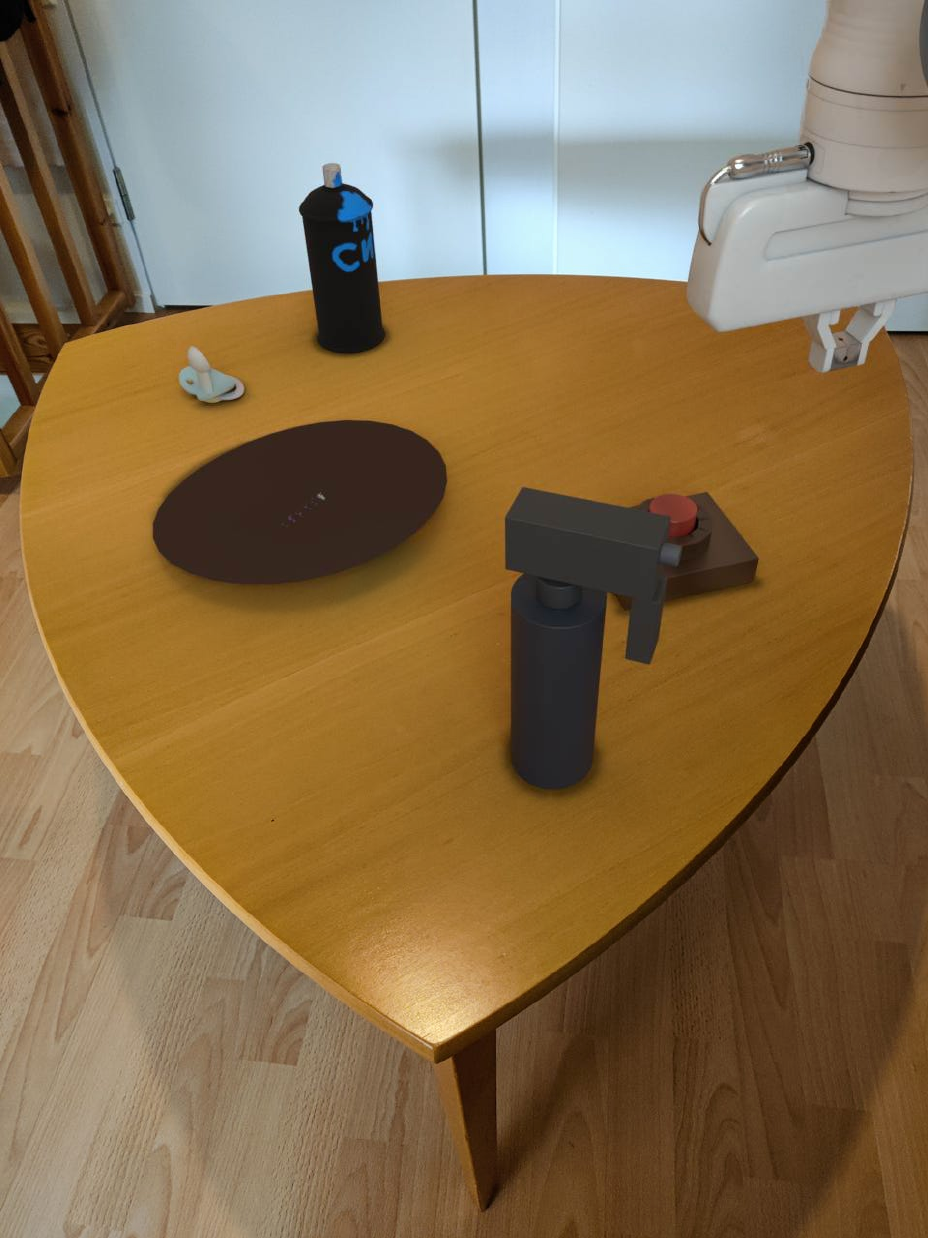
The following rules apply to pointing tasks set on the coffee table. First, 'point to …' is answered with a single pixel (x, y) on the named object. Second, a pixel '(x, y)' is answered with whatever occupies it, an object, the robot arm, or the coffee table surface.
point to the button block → (706, 554)
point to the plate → (302, 503)
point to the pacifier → (208, 380)
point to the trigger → (645, 626)
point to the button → (676, 513)
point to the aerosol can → (342, 264)
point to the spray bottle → (569, 619)
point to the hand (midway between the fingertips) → (835, 365)
